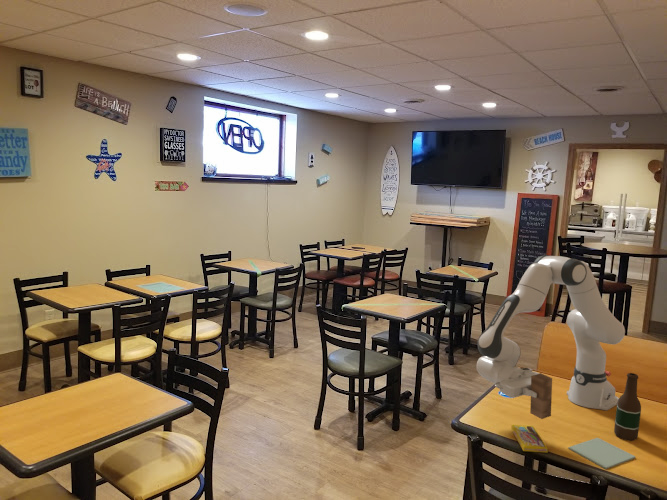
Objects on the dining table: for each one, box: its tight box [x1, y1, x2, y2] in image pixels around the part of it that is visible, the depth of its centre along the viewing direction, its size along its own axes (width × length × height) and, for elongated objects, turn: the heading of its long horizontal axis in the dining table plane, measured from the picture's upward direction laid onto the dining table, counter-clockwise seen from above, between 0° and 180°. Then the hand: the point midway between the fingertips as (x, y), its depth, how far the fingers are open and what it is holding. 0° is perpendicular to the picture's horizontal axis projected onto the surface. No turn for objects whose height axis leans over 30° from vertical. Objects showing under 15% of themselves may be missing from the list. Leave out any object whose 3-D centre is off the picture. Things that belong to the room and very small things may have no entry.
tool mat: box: [568, 437, 636, 470], centre depth 175 cm, size 16×14×1 cm
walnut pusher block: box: [529, 372, 553, 420], centre depth 178 cm, size 4×5×14 cm
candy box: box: [510, 424, 549, 454], centre depth 182 cm, size 16×2×8 cm
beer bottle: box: [613, 372, 642, 442], centre depth 186 cm, size 8×8×24 cm
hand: (543, 393), depth 177 cm, fingers closed on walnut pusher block, 5 cm apart
